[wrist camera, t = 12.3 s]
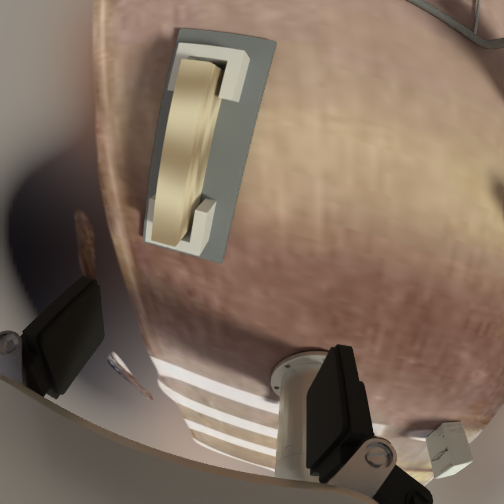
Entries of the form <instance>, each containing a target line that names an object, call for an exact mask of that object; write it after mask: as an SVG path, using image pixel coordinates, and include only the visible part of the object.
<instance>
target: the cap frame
mask: <svg viewBox="0 0 504 504" xmlns="http://www.w3.org/2000/svg"><path fill="white" fill-rule="evenodd" d="M276 44H277V43H276V41H272V40H267V39H262V38H256V37H251V36H245V35H239V34H232V33H224V32H216V31H207V30H196V29H181V28H180V30H179V34H178V37H177V41H176V45H175V48H174V52H173V56H172V60H171V64H170V68H169V72H168V76H167V80H166V85H165V89H164V94H163V99H162V103H161V108H160V113H159V119H158V124H157V130H156V135H155V141H154V147H153V154H152V161H151V168H150V175H149V183H148V191H147V200H146V209H145V220H144V232H143V242H144V243H148V244H152V245H155V246H159V247H162V248H166V249H170V250H173V251H177V252H180V253H184V254H188V255H191V256H195V257H199V258H202V259H206V260H210V261H214V262H217V263H221V264H222V262H223V259H224V255H225V250H226V246H227V241H228V237H229V232H230V228H231V224H232V219H233V215H234V211H235V206H236V202H237V198H238V193H239V189H240V185H241V181H242V176H243V172H244V168H245V164H246V160H247V156H248V152H249V148H250V144H251V140H252V136H253V132H254V128H255V124H256V120H257V116H258V112H259V108H260V104H261V100H262V96H263V93H264V89H265V85H266V81H267V77H268V74H269V70H270V66H271V62H272V59H273V55H274V51H275V48H276ZM182 59H189V60H198V61H206V62H211V63H213V64H214V65H216V66H217V67H219V68H220V69H221V70H223V71H224V72H225V73H224V77H223V81H222V85H221V89H220V93H219V97H218V98H221V99H222V100H221V104H220V108H219V112H218V116H217V121H216V125H215V129H214V134H213V139H212V143H211V148H210V152H209V157H208V162H207V167H206V172H205V177H204V182H203V187H202V192H201V198H200V203H199V206H198V207H197V208H196V210H195V214H194V220H193V225H192V226H191V228H190V229H189V230H188V231H187V233H186V234H185V235H184V236H183V238H182V239H181V240H180V242H179V243H178V244H177V245H176V247H174V246H170V245H166V244H163V243H159V242H155V241H152V240H151V236H152V225H153V216H154V207H155V199H156V191H157V183H158V176H159V169H160V163H161V156H162V150H163V144H164V138H165V133H166V128H167V122H168V117H169V112H170V107H171V102H172V98H173V93H174V89H175V84H176V80H177V76H178V72H179V68H180V64H181V60H182Z"/></svg>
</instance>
